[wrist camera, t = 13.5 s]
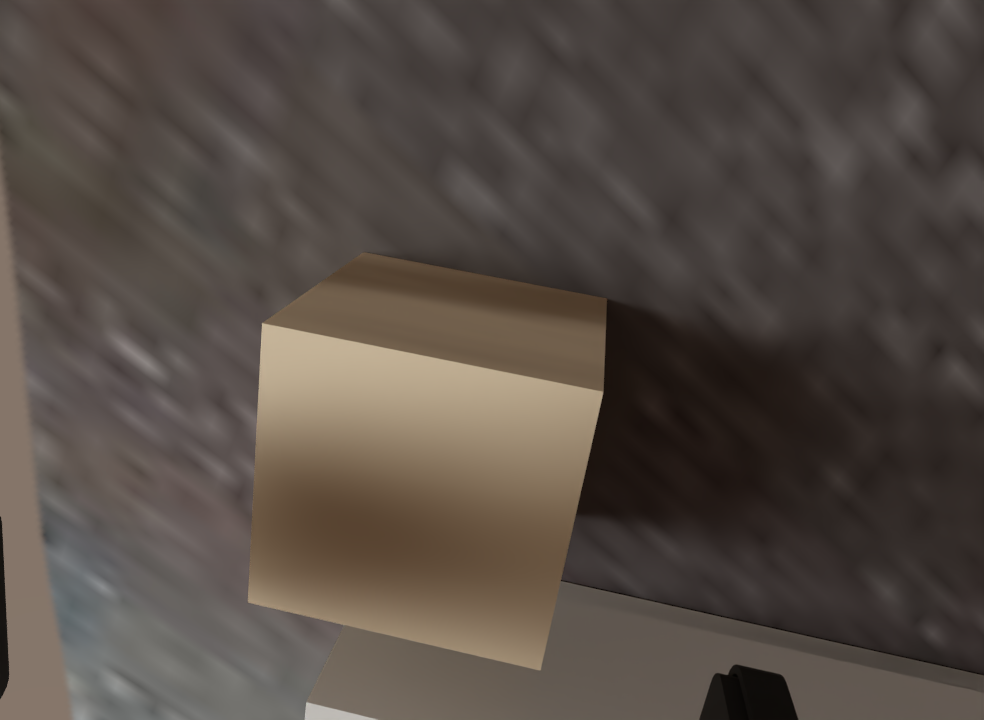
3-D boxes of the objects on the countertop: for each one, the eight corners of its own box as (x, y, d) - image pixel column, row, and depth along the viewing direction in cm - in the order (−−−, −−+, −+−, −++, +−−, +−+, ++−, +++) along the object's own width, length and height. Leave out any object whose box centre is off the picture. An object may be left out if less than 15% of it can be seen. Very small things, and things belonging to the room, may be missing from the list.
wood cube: (365, 251, 16) (262, 323, 11) (606, 297, 16) (603, 392, 11) (344, 464, 18) (247, 603, 13) (560, 511, 17) (540, 670, 13)
